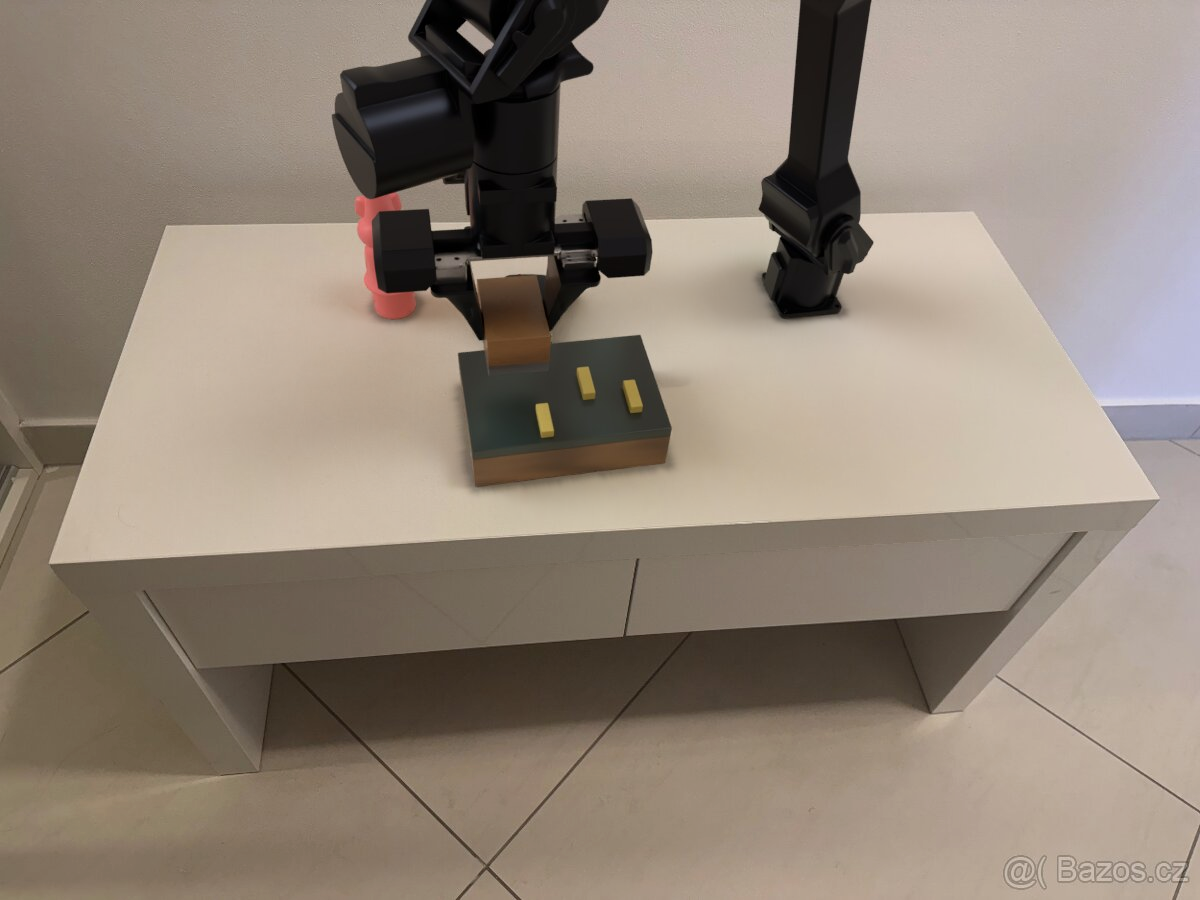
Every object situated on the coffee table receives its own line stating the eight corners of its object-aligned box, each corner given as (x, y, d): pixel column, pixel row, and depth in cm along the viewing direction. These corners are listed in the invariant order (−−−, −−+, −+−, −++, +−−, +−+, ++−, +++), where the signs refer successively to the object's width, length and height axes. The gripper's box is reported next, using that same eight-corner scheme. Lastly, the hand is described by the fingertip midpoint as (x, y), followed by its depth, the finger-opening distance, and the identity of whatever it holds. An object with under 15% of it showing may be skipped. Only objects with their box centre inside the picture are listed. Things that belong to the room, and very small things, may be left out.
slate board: (636, 370, 79) (640, 334, 75) (665, 462, 72) (672, 428, 69) (461, 388, 76) (457, 352, 73) (474, 486, 69) (471, 451, 66)
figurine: (418, 283, 85) (399, 145, 73) (427, 317, 82) (410, 179, 70) (365, 291, 84) (338, 152, 72) (373, 326, 81) (346, 187, 69)
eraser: (549, 371, 65) (550, 336, 62) (488, 376, 64) (487, 341, 61) (535, 310, 69) (536, 274, 66) (478, 314, 68) (476, 278, 66)
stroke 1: (547, 408, 69) (547, 402, 69) (554, 437, 67) (554, 430, 67) (535, 410, 69) (535, 403, 68) (541, 438, 67) (541, 431, 67)
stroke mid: (588, 372, 72) (588, 366, 71) (595, 399, 70) (595, 392, 70) (576, 374, 72) (576, 367, 71) (583, 400, 70) (583, 393, 69)
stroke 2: (633, 385, 71) (634, 379, 71) (642, 412, 70) (643, 405, 69) (622, 387, 71) (622, 380, 71) (630, 413, 69) (631, 407, 69)
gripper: (629, 81, 61) (610, 260, 73) (357, 89, 57) (384, 275, 69) (667, 170, 54) (640, 351, 66) (360, 184, 50) (390, 373, 62)
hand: (513, 333), depth 66 cm, fingers closed on eraser, 4 cm apart
